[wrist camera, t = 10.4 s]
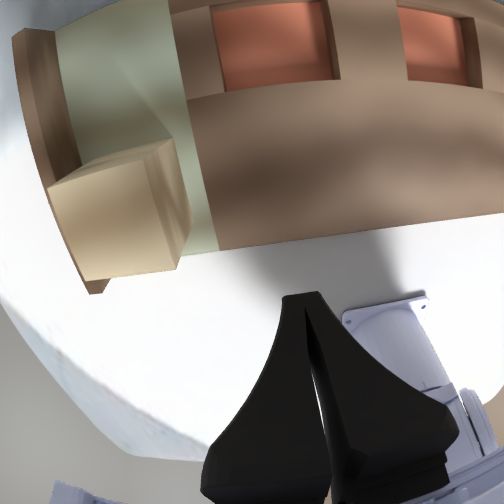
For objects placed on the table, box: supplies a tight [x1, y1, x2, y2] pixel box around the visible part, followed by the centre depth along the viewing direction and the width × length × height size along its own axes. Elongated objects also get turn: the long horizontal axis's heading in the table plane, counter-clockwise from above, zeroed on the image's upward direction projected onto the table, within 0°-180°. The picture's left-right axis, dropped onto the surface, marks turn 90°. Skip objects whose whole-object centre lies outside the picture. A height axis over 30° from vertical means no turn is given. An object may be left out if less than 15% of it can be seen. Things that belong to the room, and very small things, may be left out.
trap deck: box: [12, 0, 504, 294], centre depth 13 cm, size 16×37×5 cm, turn 99°
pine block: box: [47, 137, 194, 281], centre depth 14 cm, size 5×5×5 cm
